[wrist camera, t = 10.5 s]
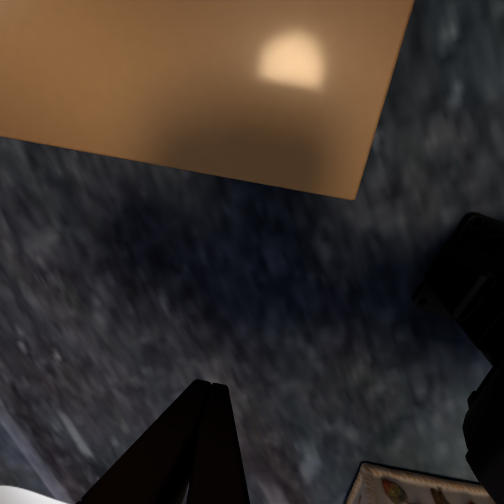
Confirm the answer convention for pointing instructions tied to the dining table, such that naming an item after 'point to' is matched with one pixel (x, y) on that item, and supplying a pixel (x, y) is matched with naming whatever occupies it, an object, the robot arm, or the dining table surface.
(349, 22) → the cabinet
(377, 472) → the decorative jar
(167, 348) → the dining table surface
